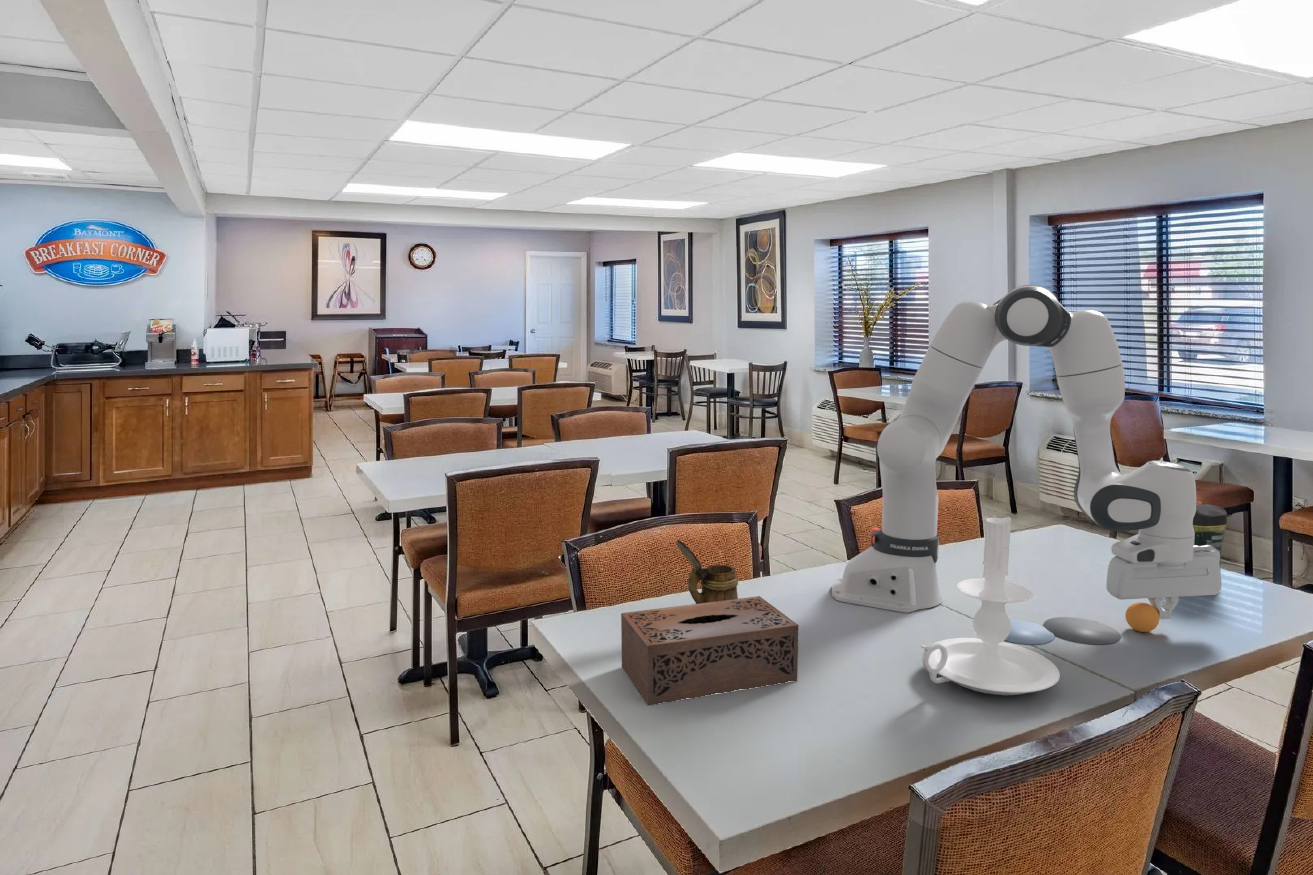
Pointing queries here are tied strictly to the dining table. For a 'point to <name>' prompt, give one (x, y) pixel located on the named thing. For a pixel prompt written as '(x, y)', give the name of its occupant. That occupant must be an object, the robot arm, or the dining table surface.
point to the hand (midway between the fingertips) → (1162, 618)
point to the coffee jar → (1209, 526)
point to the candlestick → (991, 632)
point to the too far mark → (1028, 633)
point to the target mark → (1082, 630)
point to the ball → (1142, 617)
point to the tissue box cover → (708, 648)
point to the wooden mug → (710, 579)
